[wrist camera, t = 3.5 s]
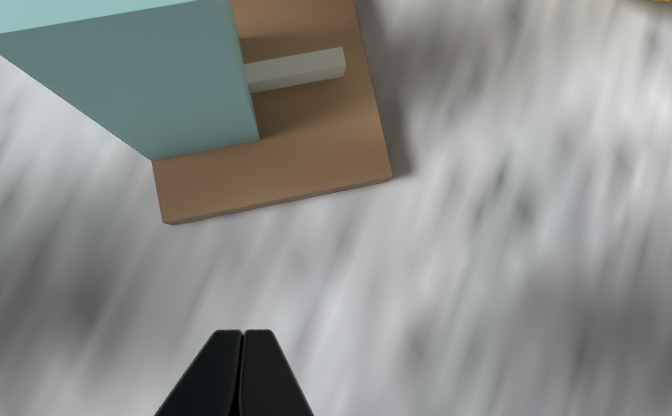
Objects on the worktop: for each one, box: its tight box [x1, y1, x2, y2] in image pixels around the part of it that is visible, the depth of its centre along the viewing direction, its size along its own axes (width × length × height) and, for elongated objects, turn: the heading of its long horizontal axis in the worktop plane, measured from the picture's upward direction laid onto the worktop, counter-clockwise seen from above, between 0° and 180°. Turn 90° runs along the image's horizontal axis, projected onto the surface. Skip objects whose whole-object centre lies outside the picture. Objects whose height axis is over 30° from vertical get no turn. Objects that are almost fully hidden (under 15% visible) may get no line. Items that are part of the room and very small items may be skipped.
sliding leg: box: [0, 0, 346, 161], centre depth 13 cm, size 4×6×10 cm, turn 102°
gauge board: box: [152, 0, 393, 225], centre depth 19 cm, size 14×8×1 cm, turn 12°
